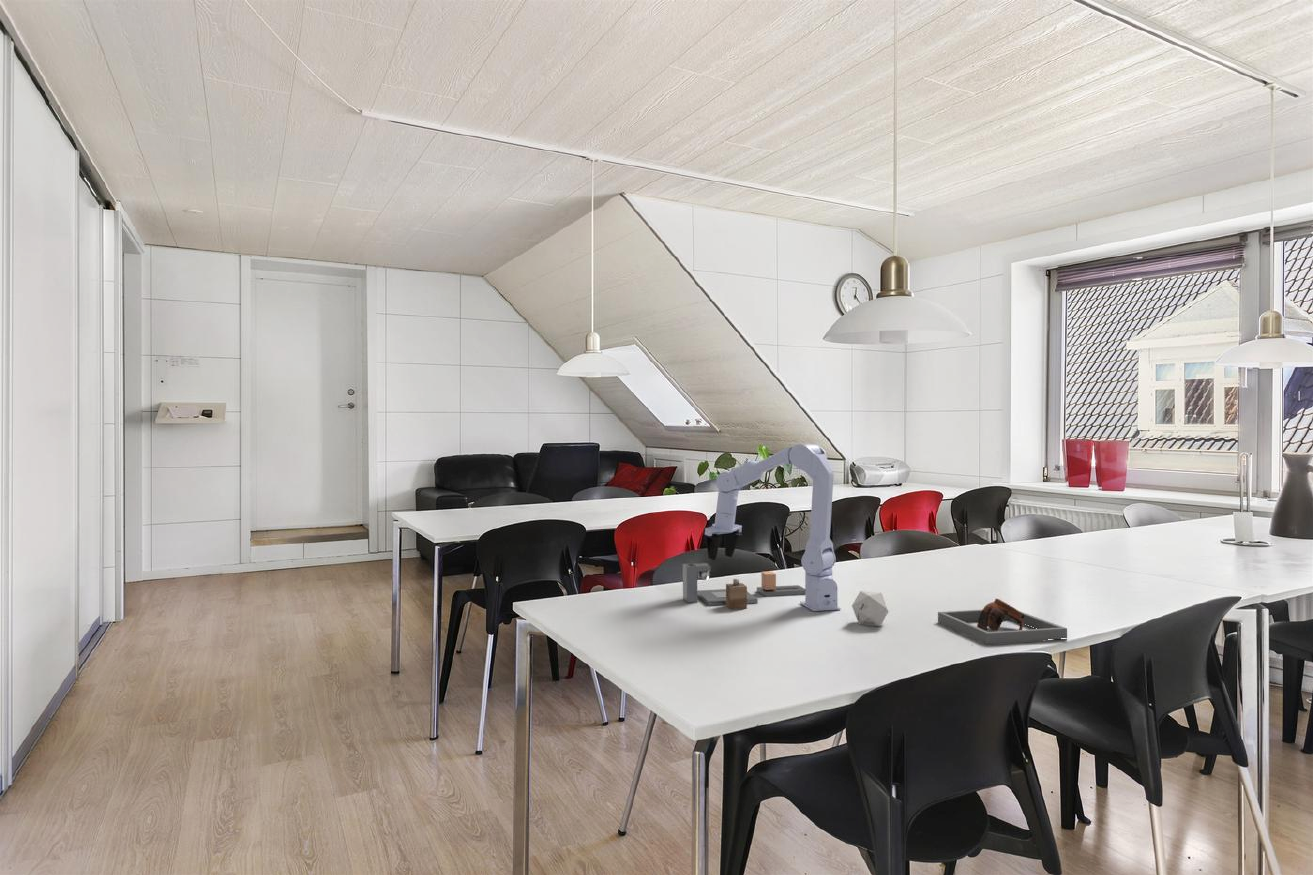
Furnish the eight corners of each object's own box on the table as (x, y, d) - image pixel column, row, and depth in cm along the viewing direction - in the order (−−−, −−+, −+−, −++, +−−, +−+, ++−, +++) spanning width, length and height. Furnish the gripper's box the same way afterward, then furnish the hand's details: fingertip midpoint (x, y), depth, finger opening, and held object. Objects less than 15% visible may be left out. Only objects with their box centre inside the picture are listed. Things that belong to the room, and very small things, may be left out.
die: (847, 622, 191) (843, 597, 186) (870, 602, 194) (867, 577, 189) (872, 640, 185) (869, 615, 180) (896, 619, 188) (894, 593, 183)
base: (807, 594, 220) (807, 589, 220) (764, 596, 218) (764, 591, 218) (798, 589, 227) (798, 584, 227) (756, 591, 225) (756, 586, 225)
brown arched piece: (976, 624, 188) (994, 596, 187) (1013, 647, 182) (1032, 618, 182) (968, 622, 178) (987, 592, 177) (1007, 646, 172) (1026, 616, 172)
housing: (746, 608, 204) (746, 580, 204) (730, 609, 203) (730, 581, 203) (741, 604, 208) (741, 577, 208) (726, 605, 207) (725, 578, 207)
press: (757, 603, 210) (757, 567, 210) (690, 606, 206) (690, 569, 206) (742, 592, 223) (742, 558, 223) (679, 595, 220) (679, 561, 220)
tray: (1067, 639, 172) (1067, 628, 172) (987, 644, 168) (987, 633, 168) (1010, 617, 192) (1010, 607, 192) (937, 622, 188) (937, 612, 188)
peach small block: (775, 589, 220) (775, 574, 220) (766, 589, 220) (765, 574, 219) (771, 586, 224) (771, 571, 224) (761, 587, 223) (761, 571, 223)
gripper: (731, 507, 229) (725, 551, 231) (699, 510, 219) (693, 556, 220) (749, 513, 225) (743, 557, 226) (717, 516, 214) (712, 563, 215)
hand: (720, 557), depth 223 cm, fingers open, 7 cm apart
